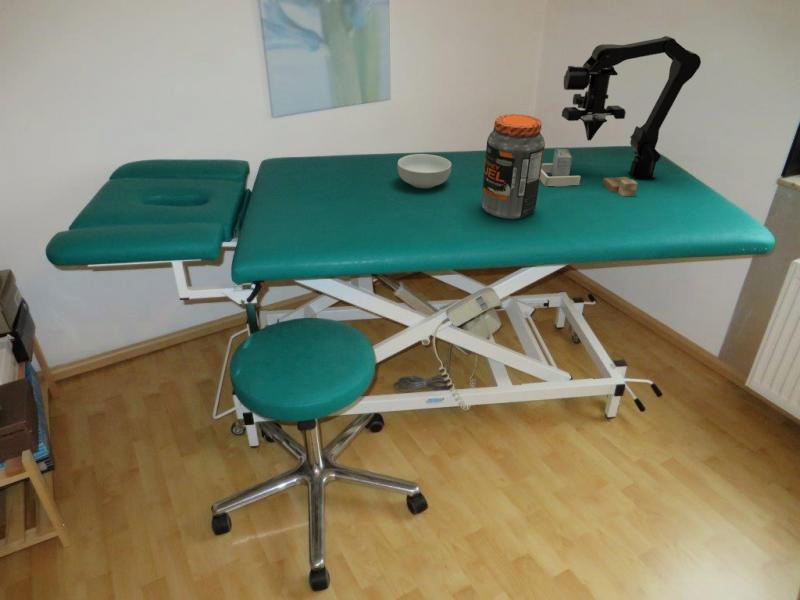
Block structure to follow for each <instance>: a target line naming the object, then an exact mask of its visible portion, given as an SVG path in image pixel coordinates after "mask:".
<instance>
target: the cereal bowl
mask: <svg viewBox="0 0 800 600" xmlns="http://www.w3.org/2000/svg"><path fill="white" fill-rule="evenodd" d="M396 165H397V173H398V175H399V177H400V178H401V180H403V182H405V183H407V184H409V185H411V186H412V187H414V188H418V189H431V188H433V187H435V186H439V185H442V184H444V183H445V182H446V181H447V180H448V179H449V177H450V175H451V171H452V162H451V161H450V160H449V159H447V158H445V157H442V156H440V155H435V154H428V153H427V154H426V153H417V154H416V153H415V154H409V155H405V156H402V157H400V158H399V159H398V161H397V164H396Z"/></svg>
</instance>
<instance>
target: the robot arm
mask: <svg viewBox="0 0 800 600" xmlns="http://www.w3.org/2000/svg"><path fill="white" fill-rule="evenodd" d="M658 54H659V55H660V54H665V55H666V56H667V57H668V58H669V59H671V64H670V66H669V71H668V72H669V73H668V78H667V81H666V82H665V84H664V86H663V88H662V91H661V93H660V95H659V97H658V99H657V100H656V102H655V104H654V106H653V108H652V110H651V112H650V113H649V114H648V115H649V116H648V118H647V119H646V121H645V123H643V125H642V126H640V127H639V126H635V128H634V131H633V133H632V134H631V136H630V137H629V138H630V142H629V144H630V147H631V148H632V149H633V153H634V154H635V156H634V158H633V160H632V161H631V164H630V168H629V169H630V170H628V173H629V175H631V176H632V177H633V178H634V179H636V180H650V179H654V180H655V179H656V176H654V171H655V168H656V164H657V163H658V161H660V158H661V157H662V156H661V154H660V153H659V152H658V151H657V149H656V146H657V143H658V141H659V136H660V135H659V134H660V129H661V127H662V125H663V123H664V122H665V119H666V118H667V116H668V114H669V112H670V111H671V108H672V107H673V105H674V103H675V101H676V99H677V98H678V95H679V93H680V92H681V90H682V88H683V86H684V85H685V84H686V83H688V82H689V81H690V80H691V79H692V78H693V77H694V75H695V74H696V73H697V71H698V70H699V68H700V67H701V64H702V61H701V57H700V55H699V54H697V53H695V52H692V51H690V50H688V49H686V48H684V47H683V46H682V45H681V44H680V43H678V42H677V40H676V39H675V38H672V37H671V36H668V35H664V36H663V37H658V38H653V39H648V40H642V41H638V42H634V43H627V44H611V43H609V44H608V43H607V44H604V43H603V44H599V45H597V46H595V48H594V49H593V50H592V52H591V55H590V57H588V59H587V60H586V61H585V62H584V63H583V65H582V66H574V65H568V66H567V70H566V71H565V74H564V76H563V89H564V91H565V90H566V91H584V90H585V89H587V91H585V93H584V95H583V96H582V93H574V94H573V96H572V105H573V106H567V107H566V106H565V107H564V108H563V109H562V111H561V117H563V118H564V119H565V120H567V121H569V122H574V121H579V120H580V121H582V122H583V125H584V130H585V134H586V140H587V141H588V142H589V141H591V140H592V139H593V138H594V136H596V134H597V132H598V131H599V129H600V128H602V126H603V125H604V123H607V121H608V120H607V119H606V117H607V116H613V117H614V119H616V120H623V119H624V120H625V117H626V113H627V112H626V109H625V108H623V107H621V106H620V105H616V104H615V105H607V106H606V101H607V99H609V94H608V88H609V84H610V79H611V76H618V74H619V73H618V72H617V71H616V70H615V67H614V66H617V65H619V64H621V63H623V62H624V61H628V60H632V59H638V58H642V57H648V56H653V55H658ZM576 105H577V107H576ZM605 106H606V107H605Z"/></svg>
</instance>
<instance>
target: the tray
mask: <svg viewBox="0 0 800 600" xmlns="http://www.w3.org/2000/svg"><path fill="white" fill-rule="evenodd" d="M552 165H553V162H552V163H550V162H549V163H542V167H541V174H540V180H541V181H540V182H541V183H542V185H543V186H546V188H548V187H547V186H555V187H572V186H571V185H579V186H580V184H581V182H580V181H581V178H582V177H581V175H569V176H557V177H552V176H548V174H551V172H552ZM569 185H570V186H569Z"/></svg>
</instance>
